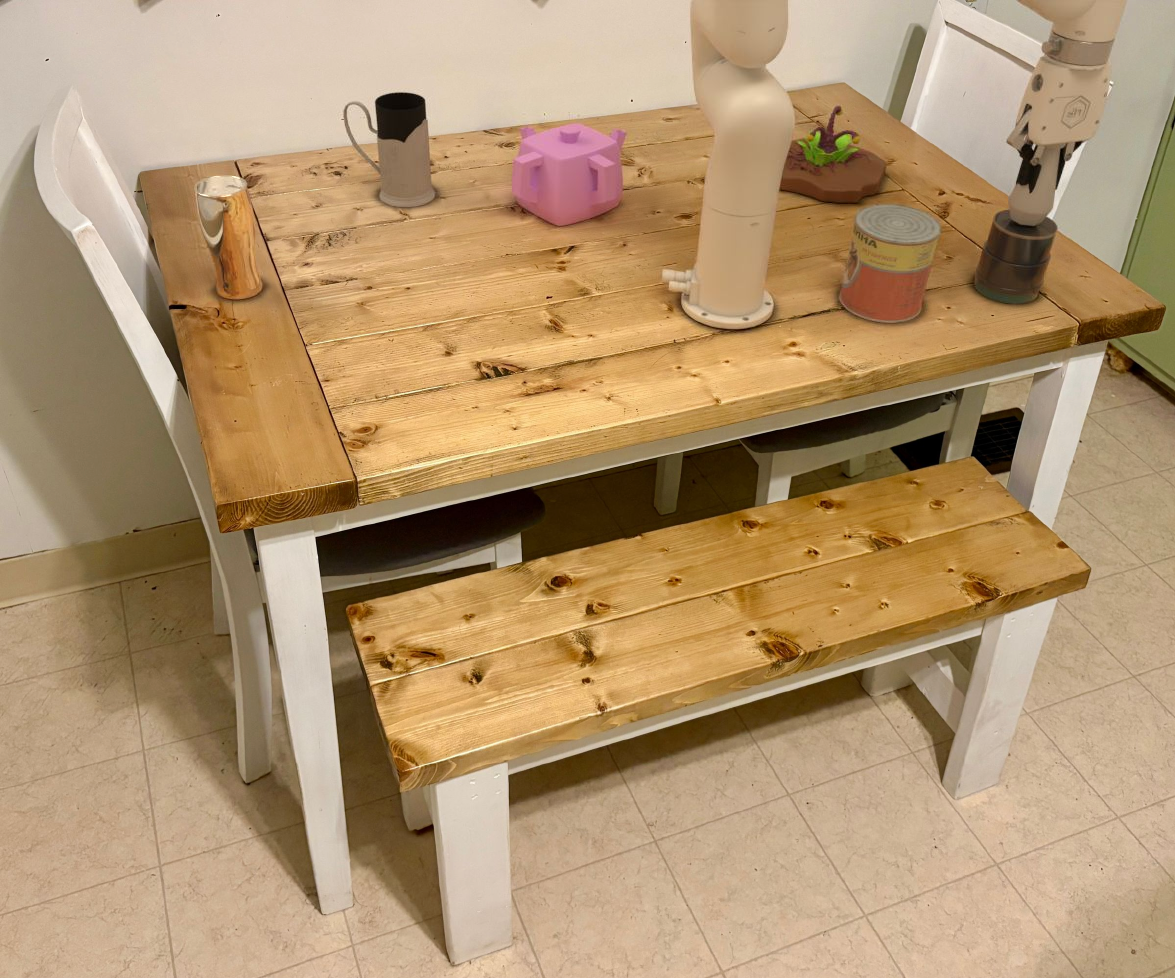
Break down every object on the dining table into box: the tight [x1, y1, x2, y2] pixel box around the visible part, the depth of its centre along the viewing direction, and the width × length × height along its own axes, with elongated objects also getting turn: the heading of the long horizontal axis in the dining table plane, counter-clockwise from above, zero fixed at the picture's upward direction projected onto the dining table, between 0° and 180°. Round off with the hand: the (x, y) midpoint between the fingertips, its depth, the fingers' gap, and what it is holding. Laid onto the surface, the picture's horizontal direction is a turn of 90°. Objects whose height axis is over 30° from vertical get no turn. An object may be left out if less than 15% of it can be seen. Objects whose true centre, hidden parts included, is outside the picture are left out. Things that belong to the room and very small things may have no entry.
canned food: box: [838, 203, 942, 324], centre depth 153 cm, size 11×11×12 cm
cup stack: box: [973, 209, 1058, 305], centre depth 158 cm, size 9×9×10 cm
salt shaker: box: [1007, 143, 1067, 226], centre depth 150 cm, size 6×6×13 cm
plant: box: [779, 105, 887, 204], centre depth 185 cm, size 20×20×11 cm
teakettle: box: [510, 122, 628, 227], centre depth 173 cm, size 17×17×12 cm
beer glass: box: [193, 174, 264, 301], centre depth 149 cm, size 7×7×15 cm
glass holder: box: [342, 91, 436, 208], centre depth 174 cm, size 9×14×15 cm, turn 71°
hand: (1036, 186), depth 151 cm, fingers closed on salt shaker, 3 cm apart
